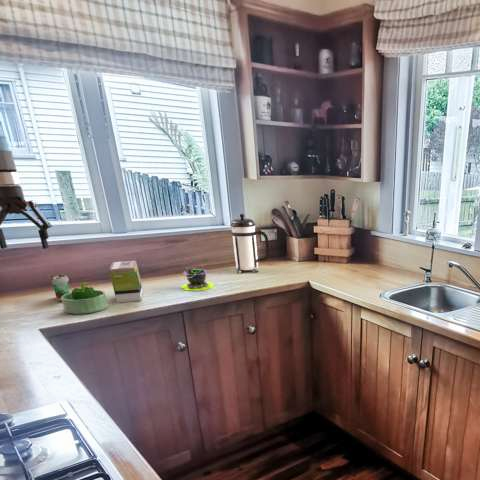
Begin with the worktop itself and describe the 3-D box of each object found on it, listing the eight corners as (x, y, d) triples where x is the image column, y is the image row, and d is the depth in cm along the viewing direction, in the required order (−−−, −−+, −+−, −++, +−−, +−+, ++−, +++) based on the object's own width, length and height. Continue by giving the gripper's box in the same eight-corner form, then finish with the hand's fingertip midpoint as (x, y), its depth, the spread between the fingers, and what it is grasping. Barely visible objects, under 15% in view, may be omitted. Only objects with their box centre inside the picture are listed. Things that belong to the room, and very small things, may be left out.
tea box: (119, 294, 211) (111, 261, 204) (143, 292, 214) (137, 259, 208) (116, 303, 198) (108, 268, 192) (142, 301, 202) (135, 266, 195)
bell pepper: (79, 312, 185) (73, 287, 180) (72, 307, 190) (66, 283, 185) (102, 307, 190) (96, 283, 186) (94, 303, 195) (88, 280, 191)
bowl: (58, 315, 182) (54, 300, 180) (74, 304, 196) (70, 290, 193) (100, 314, 184) (96, 299, 182) (113, 303, 198) (110, 289, 196)
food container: (74, 301, 200) (68, 278, 196) (58, 303, 197) (51, 280, 193) (72, 294, 209) (66, 272, 205) (56, 296, 206) (50, 274, 202)
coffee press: (248, 275, 247) (242, 216, 234) (227, 271, 254) (220, 213, 242) (271, 269, 260) (267, 213, 247) (251, 265, 268) (246, 211, 255)
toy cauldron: (182, 284, 229) (178, 261, 224) (214, 282, 233) (210, 259, 228) (180, 291, 216) (176, 268, 211) (214, 289, 220) (211, 266, 215)
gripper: (52, 185, 166) (67, 246, 175) (-28, 183, 161) (-8, 246, 170) (42, 187, 159) (58, 250, 168) (-41, 185, 154) (-20, 249, 163)
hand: (25, 248), depth 169 cm, fingers open, 13 cm apart
